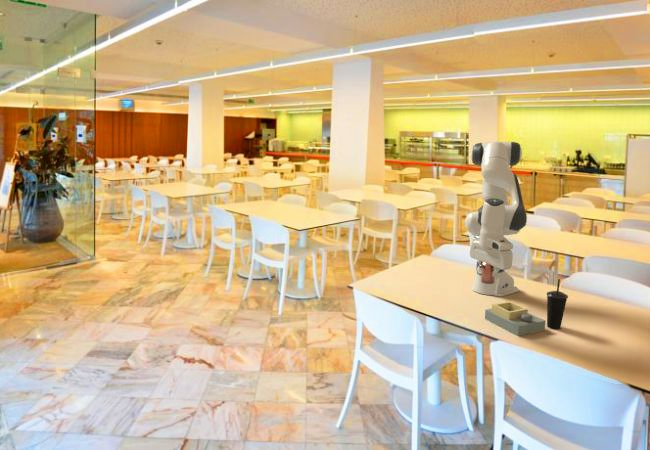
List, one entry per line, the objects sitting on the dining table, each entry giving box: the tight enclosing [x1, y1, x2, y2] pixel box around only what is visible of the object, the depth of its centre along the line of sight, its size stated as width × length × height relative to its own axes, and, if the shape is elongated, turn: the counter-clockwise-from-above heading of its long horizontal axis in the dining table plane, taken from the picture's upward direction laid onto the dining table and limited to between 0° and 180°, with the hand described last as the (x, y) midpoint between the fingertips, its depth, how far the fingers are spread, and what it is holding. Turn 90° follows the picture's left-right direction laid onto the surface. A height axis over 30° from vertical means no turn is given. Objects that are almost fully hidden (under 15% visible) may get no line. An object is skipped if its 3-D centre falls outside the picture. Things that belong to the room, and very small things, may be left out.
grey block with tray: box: [484, 300, 547, 337], centre depth 192 cm, size 14×18×7 cm
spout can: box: [479, 262, 495, 284], centre depth 189 cm, size 7×5×9 cm
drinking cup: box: [546, 278, 569, 330], centre depth 189 cm, size 8×8×20 cm
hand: (488, 274), depth 190 cm, fingers closed on spout can, 5 cm apart
